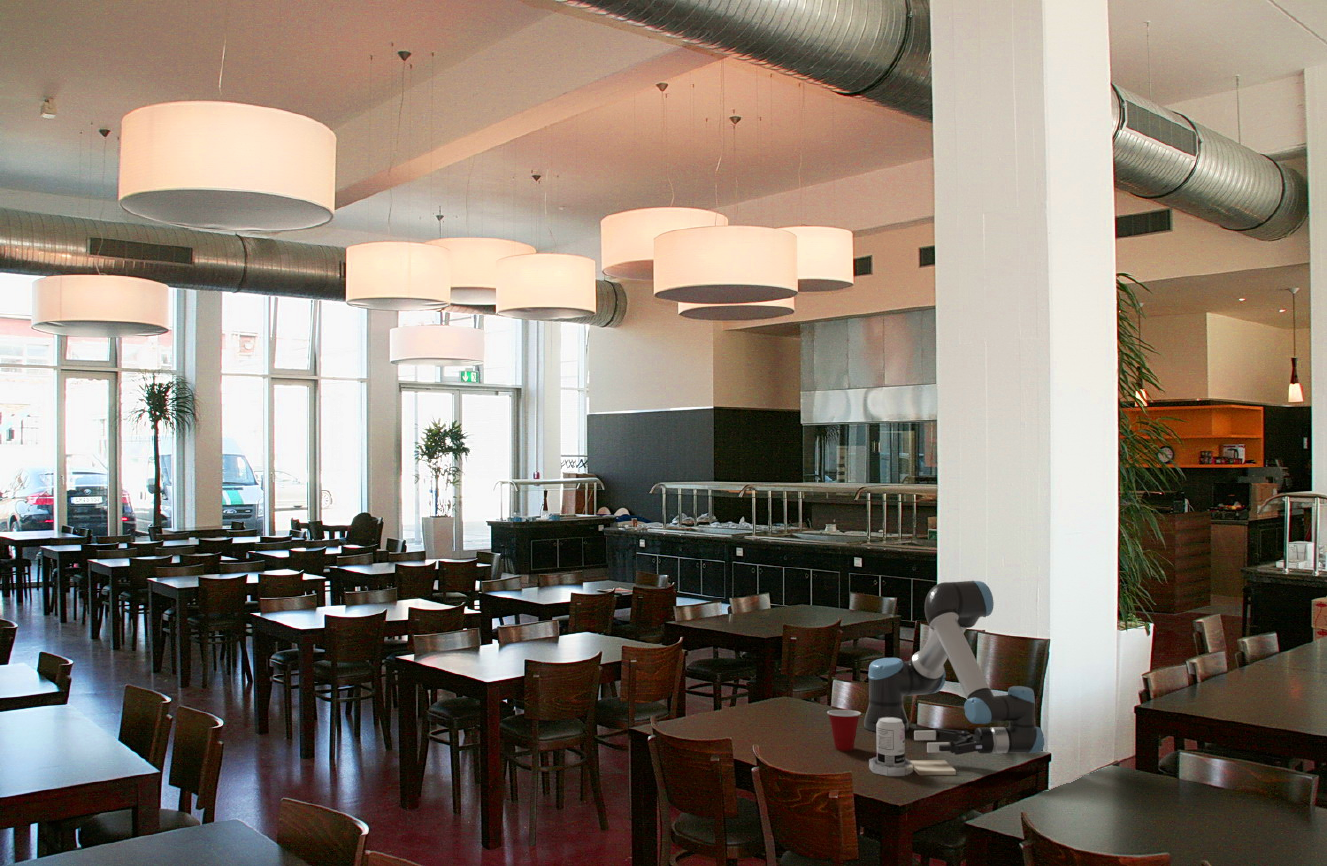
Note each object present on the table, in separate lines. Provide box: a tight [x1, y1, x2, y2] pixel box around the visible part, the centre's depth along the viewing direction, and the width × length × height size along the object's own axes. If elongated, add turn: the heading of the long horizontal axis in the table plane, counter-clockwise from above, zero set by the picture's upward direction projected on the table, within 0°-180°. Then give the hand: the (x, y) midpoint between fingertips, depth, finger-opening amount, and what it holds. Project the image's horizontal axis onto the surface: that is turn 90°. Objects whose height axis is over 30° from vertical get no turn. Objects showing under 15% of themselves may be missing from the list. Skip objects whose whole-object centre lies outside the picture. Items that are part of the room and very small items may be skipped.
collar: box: [868, 756, 914, 777], centre depth 313 cm, size 12×12×2 cm
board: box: [909, 759, 957, 776], centre depth 313 cm, size 11×11×1 cm
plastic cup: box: [826, 709, 862, 752], centre depth 337 cm, size 11×11×12 cm
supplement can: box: [876, 717, 906, 767], centre depth 313 cm, size 8×8×15 cm
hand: (920, 741), depth 313 cm, fingers open, 13 cm apart
